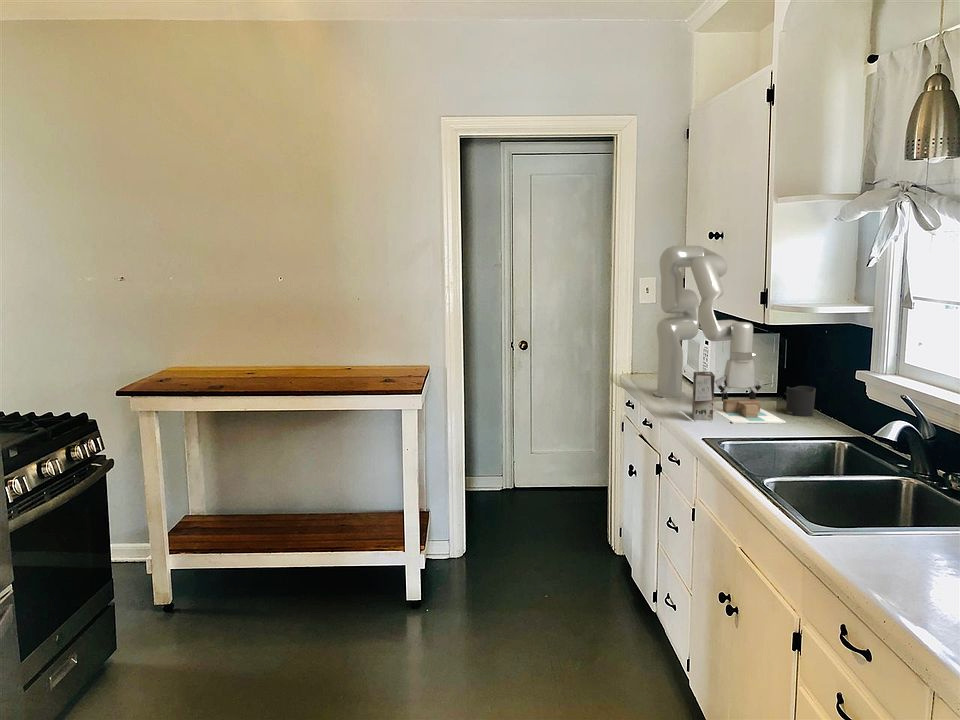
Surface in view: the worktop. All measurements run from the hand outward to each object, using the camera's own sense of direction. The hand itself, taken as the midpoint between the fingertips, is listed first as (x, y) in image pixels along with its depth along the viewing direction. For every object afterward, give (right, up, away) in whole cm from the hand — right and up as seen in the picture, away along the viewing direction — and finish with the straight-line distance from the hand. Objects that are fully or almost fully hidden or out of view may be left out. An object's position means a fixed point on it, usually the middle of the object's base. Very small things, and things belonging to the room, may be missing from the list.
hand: (738, 403), depth 269 cm
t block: (0, -3, -7) cm, 8 cm away
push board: (0, -3, -2) cm, 4 cm away
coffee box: (-17, -5, -12) cm, 21 cm away
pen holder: (+19, -4, -7) cm, 21 cm away
